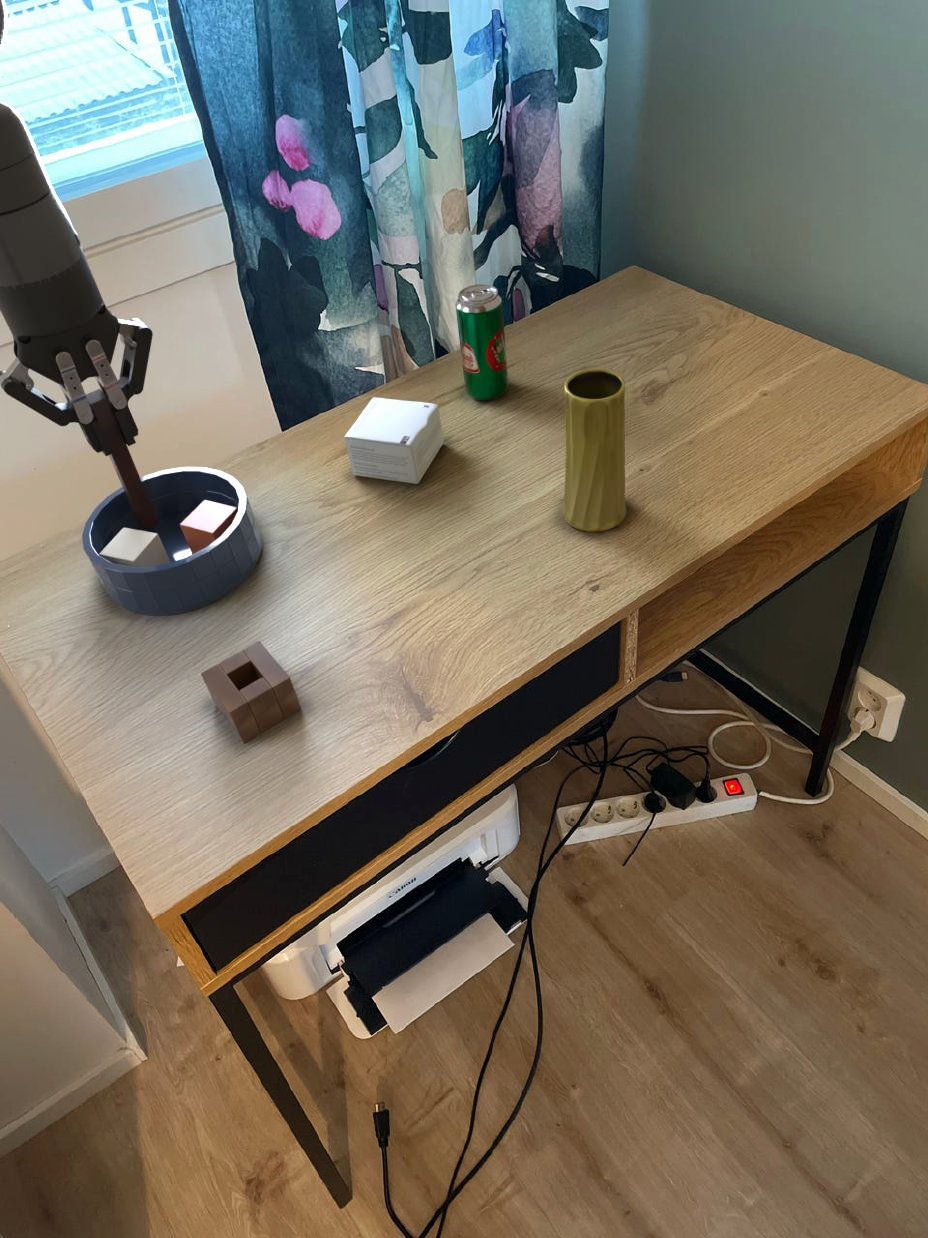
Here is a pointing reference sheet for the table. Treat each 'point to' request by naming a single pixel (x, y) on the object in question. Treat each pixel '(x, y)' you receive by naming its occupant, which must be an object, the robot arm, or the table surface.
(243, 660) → the stick stand
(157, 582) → the bowl
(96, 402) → the stirring stick
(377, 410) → the small box
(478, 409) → the table surface
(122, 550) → the cream block
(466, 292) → the soda can
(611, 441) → the vase
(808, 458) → the table surface
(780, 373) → the table surface
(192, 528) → the terracotta block
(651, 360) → the table surface
